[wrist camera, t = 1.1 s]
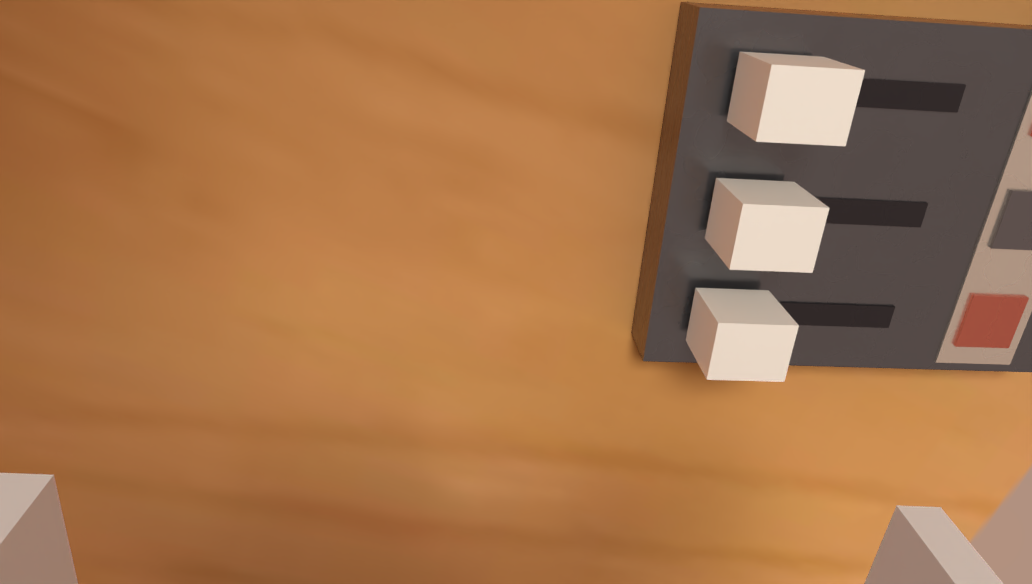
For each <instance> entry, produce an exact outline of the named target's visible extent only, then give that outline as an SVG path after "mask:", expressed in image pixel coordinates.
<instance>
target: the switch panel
mask: <svg viewBox="0 0 1032 584" xmlns="http://www.w3.org/2000/svg"><path fill="white" fill-rule="evenodd" d="M739 52H756V53H772V54H788V55H805V56H821V57H826V58H829V59H832V60H835V61H838V62H841V63H845V64H848V65H851V66H854V67H857V68H860V69H863V70H865V73H864V77H863V81H862V85H861V89H860V92H859V96H858V100H857V104H856V108H855V112H854V116H853V119H852V123H851V127H850V131H849V135H848V139H847V143H846V146H829V145H810V144H791V143H772V142H756V141H754V140H753V139H751V138H750V137H748V136H747V135H746V134H744V133H743V132H741V131H740V130H738V129H737V128H736V127H734V126H733V125H731V124H730V123H729V122H727V117H728V111H729V106H730V101H731V95H732V90H733V84H734V79H735V74H736V68H737V63H738V58H739ZM716 178H729V179H749V180H770V181H791V182H795V183H797V184H798V185H799V186H801V187H802V188H803V189H805V190H806V191H807V192H809V193H810V194H812V195H813V196H814V197H816V198H817V199H818V200H820V201H821V202H822V203H824V204H825V205H826V206H828V207H829V212H828V216H827V219H826V223H825V227H824V231H823V235H822V239H821V243H820V246H819V250H818V254H817V258H816V262H815V266H814V270H813V273H804V272H778V271H752V270H729V268H728V267H727V266H726V265H725V263H724V262H723V261H722V260H721V258H720V257H719V256H718V254H717V253H716V252H715V251H714V249H713V248H712V247H711V246H710V244H709V243H708V242H707V241H706V239H705V234H706V229H707V223H708V218H709V213H710V207H711V202H712V197H713V191H714V186H715V181H716ZM695 288H719V289H746V290H769V291H770V292H771V294H772V295H773V296H774V297H775V298H776V299H777V301H778V302H779V303H780V304H781V305H782V306H783V308H784V309H785V310H786V311H787V312H788V313H789V315H790V316H791V317H792V318H793V319H794V320H795V322H796V323H797V324H798V325H799V327H798V331H797V335H796V339H795V343H794V346H793V350H792V354H791V358H790V362H789V365H799V366H834V367H869V368H904V369H940V370H975V371H1010V372H1032V25H1017V24H1002V23H987V22H972V21H957V20H942V19H927V18H912V17H898V16H883V15H868V14H853V13H838V12H823V11H808V10H793V9H778V8H763V7H749V6H734V5H719V4H704V3H689V2H681V6H680V13H679V19H678V26H677V33H676V39H675V46H674V53H673V59H672V66H671V73H670V79H669V86H668V93H667V99H666V106H665V113H664V119H663V126H662V132H661V139H660V146H659V152H658V159H657V166H656V172H655V179H654V186H653V192H652V199H651V206H650V212H649V219H648V226H647V232H646V239H645V246H644V252H643V259H642V266H641V272H640V279H639V286H638V292H637V299H636V306H635V312H634V319H633V326H632V332H631V333H632V335H633V338H634V340H635V343H636V345H637V348H638V350H639V352H640V355H641V357H642V360H643V361H658V362H693V363H697V361H696V359H695V357H694V355H693V353H692V351H691V350H690V348H689V346H688V344H687V342H686V336H687V330H688V325H689V320H690V314H691V309H692V304H693V298H694V293H695Z"/></svg>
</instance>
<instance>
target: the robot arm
mask: <svg viewBox="0 0 1032 584" xmlns="http://www.w3.org/2000/svg"><path fill="white" fill-rule="evenodd" d="M0 584H78V581H77V576H76V572H75V567H74V563H73V558H72V554H71V549H70V545H69V541H68V536H67V532H66V527H65V523H64V518H63V514H62V509H61V505H60V500H59V496H58V491H57V487H56V482H55V478H54V475H47V474H19V473H0ZM864 584H1003V582H1002V581H1001V580H1000V579H999V578H998V576H997V575H996V574H995V573H994V572H993V570H992V569H991V568H990V567H989V566H988V564H987V563H986V562H985V561H984V559H983V558H982V557H981V556H980V555H979V554H978V552H977V551H976V550H975V549H974V547H973V546H972V545H971V544H970V542H969V541H968V540H967V539H966V537H965V536H964V535H963V534H962V533H961V531H960V530H959V529H958V528H957V527H956V525H955V524H954V523H953V522H952V520H951V519H950V518H949V517H948V516H947V514H946V513H945V512H944V511H943V510H942V508H941V507H922V506H896V508H895V511H894V513H893V516H892V518H891V520H890V523H889V525H888V528H887V530H886V532H885V535H884V537H883V540H882V542H881V545H880V547H879V549H878V552H877V554H876V557H875V559H874V561H873V564H872V566H871V569H870V571H869V574H868V576H867V578H866V581H865V583H864Z"/></svg>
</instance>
